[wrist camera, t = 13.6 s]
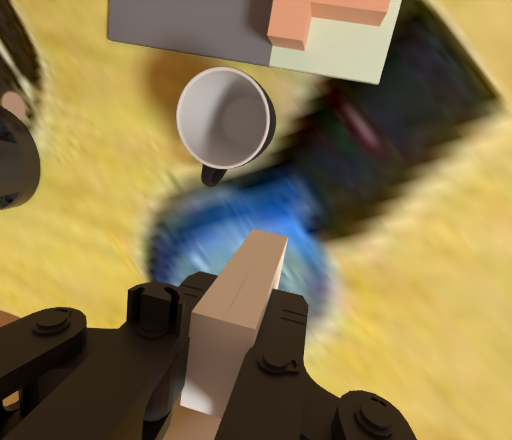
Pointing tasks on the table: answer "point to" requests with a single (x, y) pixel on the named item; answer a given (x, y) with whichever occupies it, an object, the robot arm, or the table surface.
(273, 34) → the t block
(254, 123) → the mug
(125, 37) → the mat
